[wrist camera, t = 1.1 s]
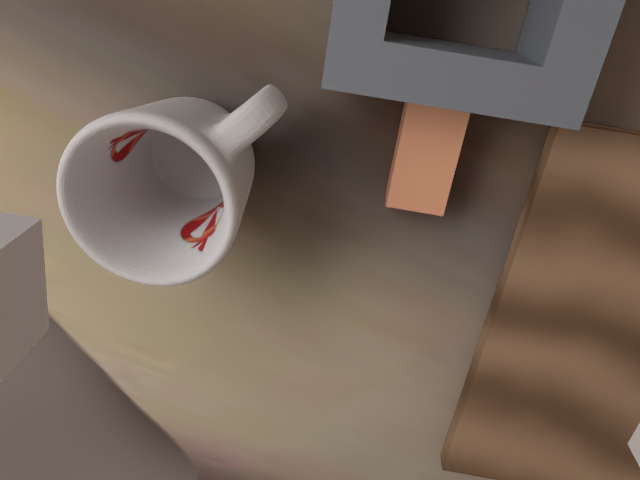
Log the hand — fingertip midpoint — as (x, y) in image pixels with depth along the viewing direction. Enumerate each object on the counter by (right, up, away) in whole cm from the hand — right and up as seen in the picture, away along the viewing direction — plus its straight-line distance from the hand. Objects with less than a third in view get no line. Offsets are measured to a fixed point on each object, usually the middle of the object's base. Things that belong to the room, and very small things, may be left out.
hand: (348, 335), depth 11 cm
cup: (-6, +8, +19) cm, 21 cm away
